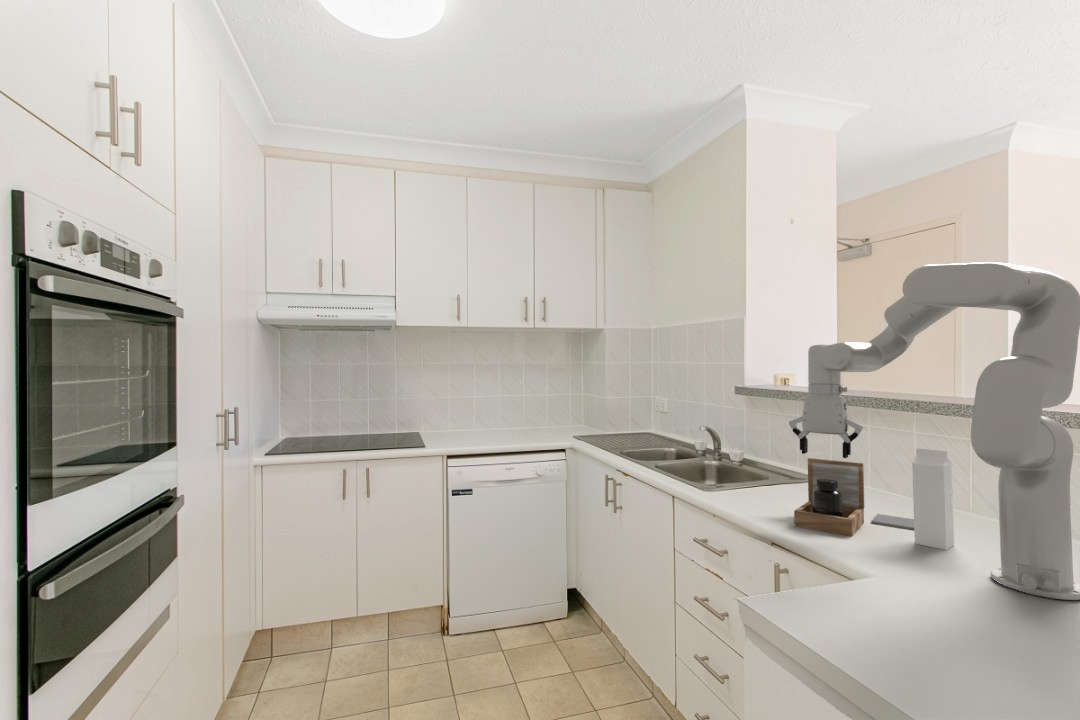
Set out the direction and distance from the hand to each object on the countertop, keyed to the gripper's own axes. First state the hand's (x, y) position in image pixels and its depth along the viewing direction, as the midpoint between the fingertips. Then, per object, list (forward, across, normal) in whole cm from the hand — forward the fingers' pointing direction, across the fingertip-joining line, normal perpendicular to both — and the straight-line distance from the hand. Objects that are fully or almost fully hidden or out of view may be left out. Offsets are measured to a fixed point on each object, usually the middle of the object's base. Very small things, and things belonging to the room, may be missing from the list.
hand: (824, 455), depth 132 cm
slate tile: (+18, -14, -16) cm, 28 cm away
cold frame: (+18, -1, -2) cm, 18 cm away
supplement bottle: (+19, -1, 0) cm, 19 cm away
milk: (+18, -23, 0) cm, 29 cm away
